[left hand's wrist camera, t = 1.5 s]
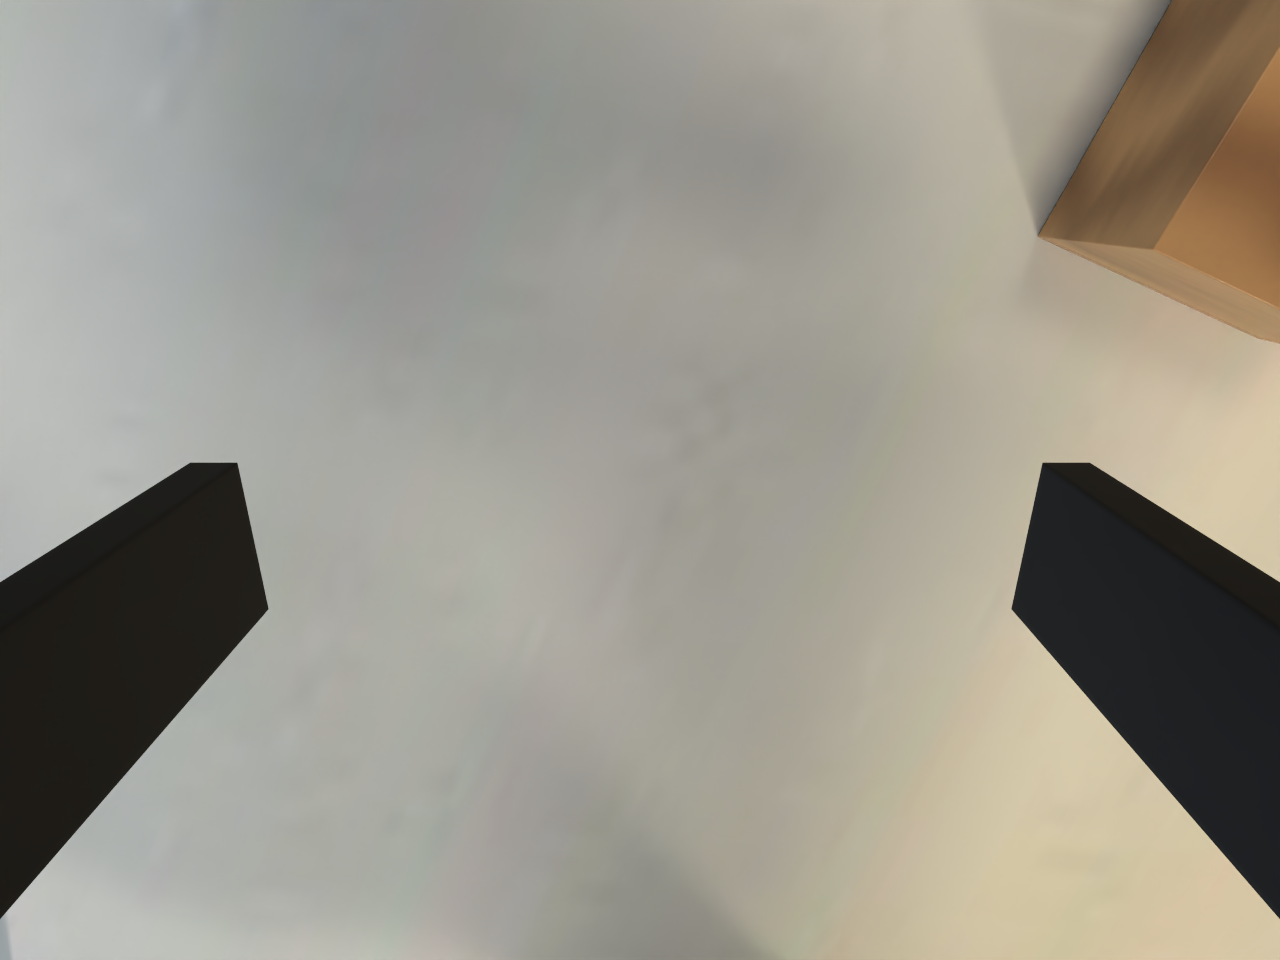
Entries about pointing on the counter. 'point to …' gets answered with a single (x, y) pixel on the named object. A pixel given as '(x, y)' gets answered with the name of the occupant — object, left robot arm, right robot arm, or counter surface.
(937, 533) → the counter surface
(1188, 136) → the thick board
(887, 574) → the counter surface
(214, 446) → the counter surface
